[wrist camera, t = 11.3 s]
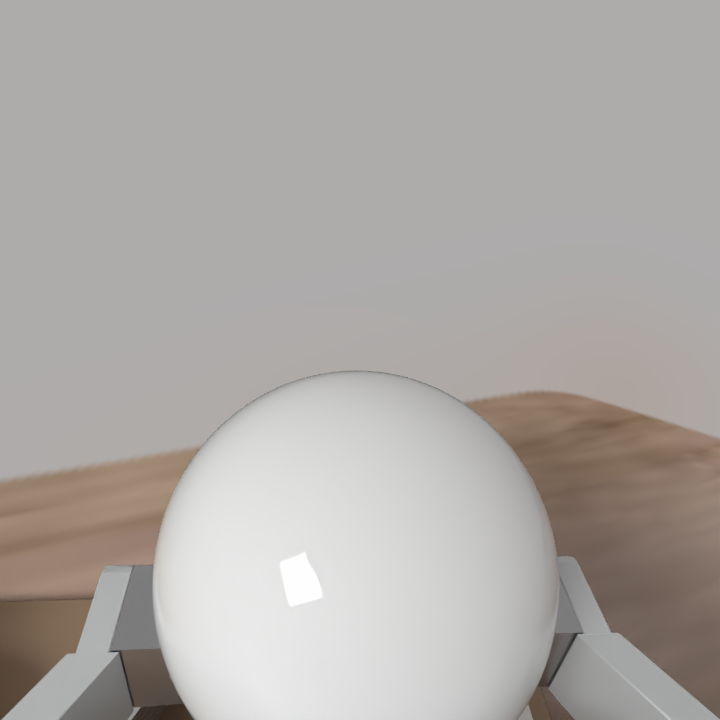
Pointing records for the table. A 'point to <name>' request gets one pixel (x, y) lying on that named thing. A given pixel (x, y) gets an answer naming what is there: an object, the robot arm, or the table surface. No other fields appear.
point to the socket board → (62, 635)
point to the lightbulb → (356, 561)
